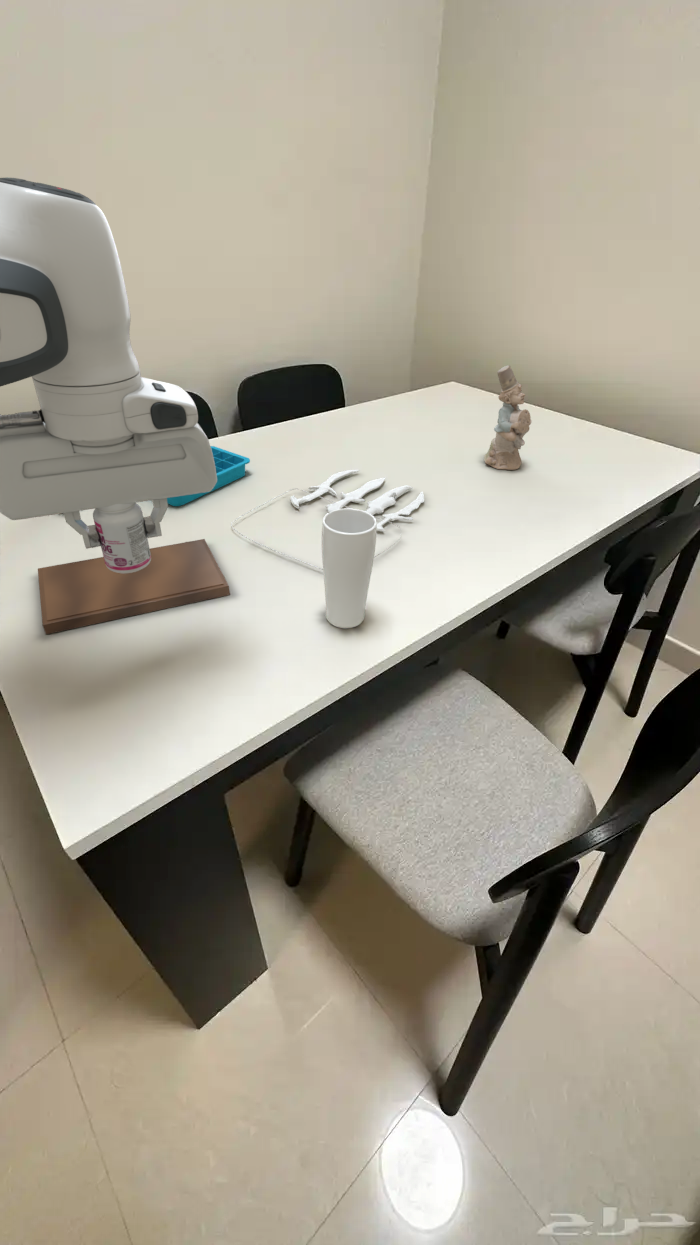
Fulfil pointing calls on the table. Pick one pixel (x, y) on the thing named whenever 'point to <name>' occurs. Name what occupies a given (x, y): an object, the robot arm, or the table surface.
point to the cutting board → (128, 586)
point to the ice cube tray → (218, 473)
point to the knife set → (357, 501)
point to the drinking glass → (347, 564)
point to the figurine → (509, 424)
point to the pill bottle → (122, 537)
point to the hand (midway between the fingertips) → (124, 539)
